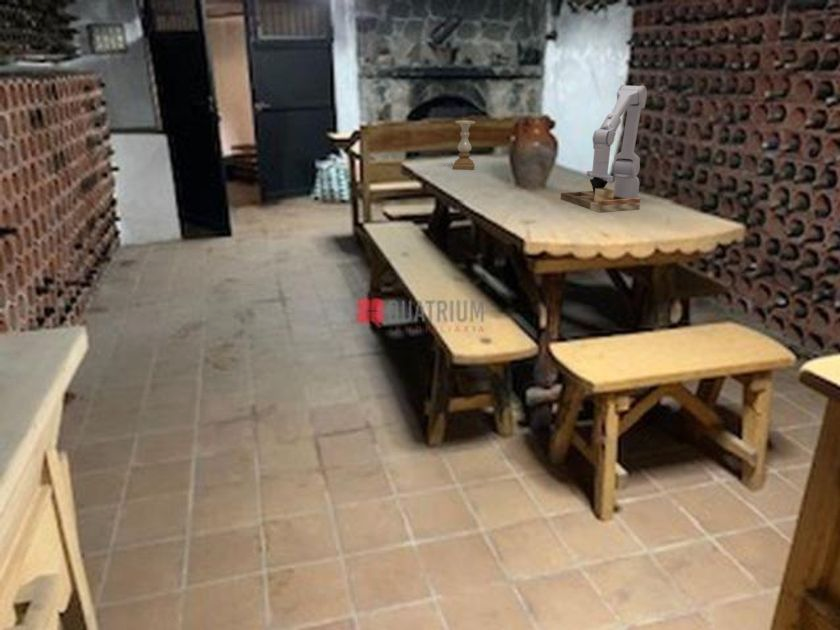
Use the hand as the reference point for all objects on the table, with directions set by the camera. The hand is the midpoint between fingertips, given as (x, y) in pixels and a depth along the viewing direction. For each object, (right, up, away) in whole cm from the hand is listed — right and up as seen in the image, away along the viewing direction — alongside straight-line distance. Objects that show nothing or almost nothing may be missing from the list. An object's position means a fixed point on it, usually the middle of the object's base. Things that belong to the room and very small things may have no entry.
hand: (597, 197), depth 252 cm
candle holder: (-45, +32, +93) cm, 108 cm away
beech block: (+1, -2, -3) cm, 4 cm away
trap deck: (+2, -1, +6) cm, 7 cm away
